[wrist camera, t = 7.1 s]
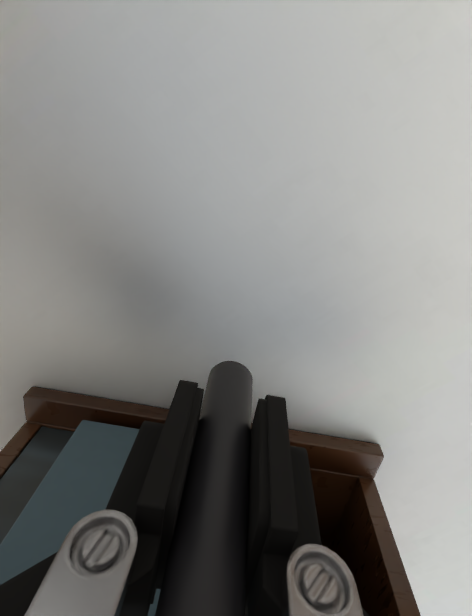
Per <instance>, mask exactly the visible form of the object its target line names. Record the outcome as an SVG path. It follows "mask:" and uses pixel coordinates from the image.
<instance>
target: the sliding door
mask: <svg viewBox="0 0 472 616" xmlns="http://www.w3.org/2000/svg"><path fill="white" fill-rule="evenodd" d="M251 410H252V375H251V373H250V371H249V370H248V369H247V368H246V367H245V366H244V365H242V364H241V363H238V362H234V361H225V362H221V363H219V364H217V365H216V366H215V367H213V369H212V370H211V371H210V374H209V378H208V382H207V387H206V391H205V396H204V400H203V405H202V409H201V413H200V418H199V423H198V428H197V432H196V437H195V441H194V446H193V450H192V455H191V459H190V464H189V468H188V473H187V477H186V482H185V486H184V491H183V495H182V499H181V504H180V508H179V513H178V517H177V522H176V526H175V531H174V535H173V540H172V544H171V549H170V552H169V555H168V560H167V564H166V569H165V573H164V578H163V582H162V586H161V589H156V593H155V597H154V602H153V604H150V608H149V612H148V616H245V592H246V562H247V531H248V501H249V471H250V441H251ZM139 430H140V429H136V428H130V427H124V426H118V425H112V424H106V423H100V422H94V421H88V420H82V421H81V422H80V424H79V425H78V427H77V429H76V430H75V432H74V433H73V435H72V436H71V438H70V439H69V441H68V442H67V444H66V445H65V447H64V448H63V450H62V451H61V453H60V454H59V456H58V457H57V459H56V461H55V462H54V464H53V465H52V467H51V468H50V470H49V471H48V473H47V474H46V476H45V477H44V479H43V480H42V482H41V483H40V485H39V486H38V488H37V489H36V491H35V492H34V494H33V496H32V497H31V499H30V500H29V502H28V503H27V505H26V506H25V508H24V509H23V511H22V512H21V514H20V515H19V517H18V518H17V520H16V521H15V523H14V524H13V526H12V527H11V529H10V531H9V532H8V534H7V535H6V537H5V538H4V540H3V541H2V543H1V544H0V585H1V584H3V583H5V582H6V581H8V580H10V579H11V578H13V577H15V576H17V575H18V574H20V573H22V572H23V571H25V570H27V569H29V568H30V567H32V566H34V565H35V564H37V563H39V562H41V561H42V560H44V559H46V558H47V557H49V556H51V555H53V554H54V553H56V552H58V550H59V549H60V547H61V545H62V543H63V541H64V539H65V537H66V536H67V534H68V533H69V531H70V530H71V528H72V527H73V526H74V525H75V524H76V523H77V522H78V521H80V520H81V519H82V518H83V517H85V516H87V515H89V514H91V513H93V512H96V511H100V510H104V509H106V507H107V504H108V502H109V500H110V497H111V495H112V493H113V490H114V488H115V486H116V483H117V481H118V479H119V476H120V474H121V472H122V469H123V467H124V465H125V462H126V460H127V458H128V455H129V453H130V451H131V448H132V446H133V444H134V441H135V439H136V437H137V434H138V432H139Z"/></svg>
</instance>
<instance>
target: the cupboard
mask: <svg viewBox="0 0 472 616" xmlns="http://www.w3.org/2000/svg"><path fill="white" fill-rule="evenodd" d="M23 398H24V406H25V414H26V420H27V421H26V423H25V424H24V425H23V426H22V427H21V428H20V430H19V431H18V432H17V433H16V434H15V435H14V437H13V438H12V439H11V440H10V441H9V442H8V444H7V445H6V446H5V447H4V448H3V449H2V451H1V452H0V544H1V543H2V541H3V540H4V538H5V537H6V535H7V534H8V532H9V531H10V529H11V527H12V526H13V524H14V523H15V521H16V520H17V518H18V517H19V515H20V514H21V512H22V511H23V509H24V508H25V506H26V505H27V503H28V502H29V500H30V499H31V497H32V496H33V494H34V492H35V491H36V489H37V488H38V486H39V485H40V483H41V482H42V480H43V479H44V477H45V476H46V474H47V473H48V471H49V470H50V468H51V467H52V465H53V464H54V462H55V461H56V459H57V457H58V456H59V454H60V453H61V451H62V450H63V448H64V447H65V445H66V444H67V442H68V441H69V439H70V438H71V436H72V435H73V433H74V432H75V430H76V429H77V427H78V425H79V424H80V422H81V421H82V420H88V421H94V422H100V423H106V424H112V425H118V426H124V427H130V428H136V429H140V427H141V425H142V423H143V422H144V421H151V422H157V423H162V424H165V421H166V418H167V415H168V412H169V409H165V408H159V407H153V406H147V405H141V404H135V403H129V402H123V401H117V400H111V399H105V398H99V397H93V396H87V395H81V394H75V393H69V392H63V391H57V390H51V389H45V388H39V387H31V389H30V390H29V391H28V392H27V393H26V394H25V395H24V397H23ZM252 424H253V423H251V428H252ZM288 430H289V440H290V445H291V446H296V447H302V448H305V449H306V450H307V454H308V459H309V466H310V472H311V479H312V485H313V492H314V498H315V505H316V511H317V518H318V524H319V530H320V537H321V543H322V546H325V547H327V548H329V549H330V550H332V551H333V552H335V553H336V554H337V555H338V556H339V557H340V558H341V559H342V560H343V561H344V562H345V563H346V565H347V566H348V568H349V569H350V571H351V572H352V575H353V577H354V580H355V583H356V586H357V590H358V594H359V598H360V603H361V607H362V608H363V609H364V610H365V611H366V612H367V613H368V614H369V615H370V616H421V615H420V612H419V610H418V607H417V604H416V601H415V598H414V595H413V592H412V589H411V586H410V583H409V580H408V578H407V575H406V572H405V569H404V566H403V563H402V560H401V557H400V554H399V551H398V548H397V546H396V543H395V540H394V537H393V534H392V531H391V528H390V525H389V522H388V519H387V516H386V514H385V511H384V508H383V505H382V502H381V499H380V496H379V493H378V490H377V487H376V484H375V482H374V480H373V478H374V477H375V475H376V473H377V470H378V468H379V466H380V464H381V462H382V460H383V458H384V455H383V452H382V450H381V448H380V445H379V444H374V443H368V442H362V441H356V440H350V439H344V438H338V437H332V436H326V435H320V434H314V433H308V432H302V431H296V430H290V429H288Z"/></svg>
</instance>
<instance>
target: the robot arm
mask: <svg viewBox="0 0 472 616" xmlns="http://www.w3.org/2000/svg"><path fill="white" fill-rule="evenodd" d="M197 387H198V383H196V382H190V381H184V380H180V381H179V383H178V386H177V389H176V392H175V395H174V398H173V401H172V403H171V406H170V409H169V412H168V415H167V418H166V421H165V424H162V423H157V422H151V421H144V422H143V423H142V425H141V427H140V430H139V432H138V434H137V437H136V439H135V441H134V444H133V446H132V448H131V451H130V453H129V455H128V458H127V460H126V462H125V465H124V467H123V469H122V472H121V474H120V476H119V479H118V481H117V483H116V486H115V488H114V490H113V493H112V495H111V497H110V500H109V502H108V504H107V507H106V509H104V510H100V511H96V512H93V513H91V514H89V515H87V516H85V517H83V518H82V519H81V520H80V521H78V522H77V523H76V524H75V525H74V526H73V527H72V528H71V530H70V531H69V533H68V534H67V536H66V537H65V539H64V541H63V543H62V545H61V547H60V549H59V550H58V552H56V553H54V554H53V555H51V556H49V557H47V558H46V559H44V560H42V561H41V562H39V563H37V564H35V565H34V566H32V567H30V568H29V569H27V570H25V571H23V572H22V573H20V574H18V575H17V576H15V577H13V578H11V579H10V580H8V581H6V582H5V583H3V584H1V585H0V616H148V612H149V608H150V604H153V602H154V597H155V593H156V589H161V586H162V582H163V578H164V573H165V569H166V564H167V560H168V555H169V552H170V549H171V544H172V540H173V535H174V531H175V526H176V522H177V517H178V513H179V508H180V504H181V499H182V495H183V491H184V486H185V482H186V477H187V473H188V468H189V464H190V459H191V455H192V450H193V446H194V441H195V437H196V432H197V428H198V423H199V418H200V412H201V405H202V399H203V393H204V389H201V388H197ZM245 616H370V615H369V614H368V613H367V612H366V611H365V610H364V609H363V608H362V607H361V603H360V598H359V594H358V590H357V586H356V583H355V580H354V577H353V575H352V572H351V571H350V569H349V568H348V566H347V565H346V563H345V562H344V561H343V560H342V559H341V558H340V557H339V556H338V555H337V554H336V553H335V552H333V551H332V550H330V549H329V548H327V547H325V546H322V543H321V537H320V530H319V524H318V518H317V511H316V505H315V498H314V492H313V485H312V479H311V472H310V466H309V459H308V454H307V450H306V449H305V448H302V447H296V446H291V445H290V440H289V430H288V420H287V410H286V401H285V398H282V397H276V396H271V395H266V397H265V399H259V400H258V403H257V407H256V412H255V416H254V420H253V424H252V428H251V441H250V471H249V501H248V531H247V562H246V592H245Z"/></svg>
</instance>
